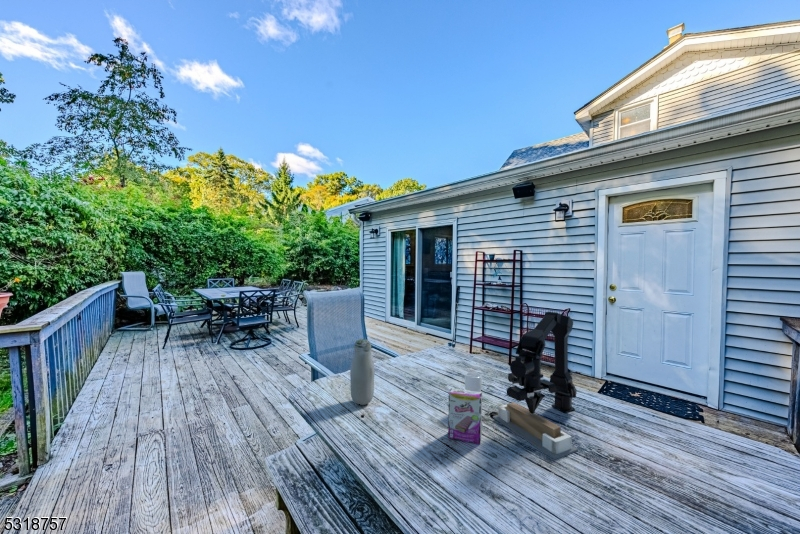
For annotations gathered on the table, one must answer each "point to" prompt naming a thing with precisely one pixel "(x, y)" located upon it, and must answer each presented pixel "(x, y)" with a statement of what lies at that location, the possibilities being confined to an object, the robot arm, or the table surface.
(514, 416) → the wooden block
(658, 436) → the table surface
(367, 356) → the grey bottle
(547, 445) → the end cap frame
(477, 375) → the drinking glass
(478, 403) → the candy bar box
